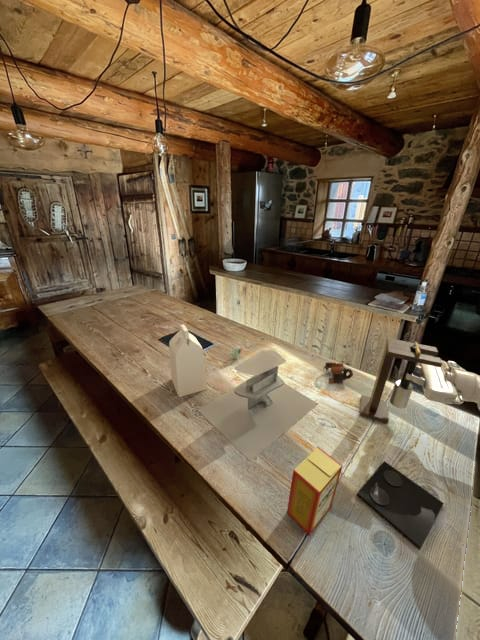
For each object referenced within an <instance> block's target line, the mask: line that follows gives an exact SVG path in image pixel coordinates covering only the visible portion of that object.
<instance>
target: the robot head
mask: <svg viewBox="0 0 480 640" xmlns="http://www.w3.org/2000/svg"><path fill="white" fill-rule="evenodd" d="M241 352H242V349H241V346H240V345H234V346H233V347H232V349H231V351H230V353H229V354H230V355H231V356H232V358H233V359H235V360H236V359H238V358H239V357H240V355H241V354H242V353H241Z"/></svg>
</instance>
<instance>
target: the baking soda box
mask: <svg viewBox="0 0 480 640" xmlns="http://www.w3.org/2000/svg"><path fill="white" fill-rule="evenodd" d="M342 469H343V464H341V462H339V461H338V460H336V459H335V458H334V457H332V456H331V455H330V454H329V453H327V452H326V451H325V450H323V449H322V448H320V447H319V446H317V447H315V449H313V450H312V451H311V453H309V455H307V457H305V459H304V460H302V462H300V463H299V464H298V465H297V466H296V467H295V468H294V469H293V471H292V476H291V483H290V490H289V497H288V503H287V509H286V513H287V514H288V515H289V516H290V517H291V518H292V520H293V521H294V522H296V524H297V525H298V526H299V527H300V528H301V529H302V530H303V531H304V532H305V533H306V534H307V535H308V536H310V535H311V534H312V532H314V530H315V529H316V528H317V526H318V525H319V523H320V522H321V521H322V519H323V518H324V517H325V516H326V515H327V513H328V512H329V511H330V509H331V508H332V506H333V501H334V498H335V494H336V492H337V488H338V483H339V480H340V477H341V472H342Z"/></svg>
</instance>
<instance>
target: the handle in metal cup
mask: <svg viewBox="0 0 480 640" xmlns="http://www.w3.org/2000/svg"><path fill="white" fill-rule="evenodd" d="M413 343H414V345H413V347H412V350H411V352H415V353H416V355H417V356H420V355H421V354H422V353H421V351H422V347H420V346H419V345H418V344H419V343H418V341H414V342H413ZM406 361H407V363H406V364H405V365H406V367H405V366H404V368H405V369H404V371H403V372H402V373H403V374H402V376H401V379H397V380H396V381H395V382H394V386H393V387H392V391H391V395H390V398H389V403H390V404H391V405H392V406H393V407H395V408H398V409H406V408H407V406H408V404H409V400H410V398H411V395H412V393H413V390H414V386H413V384H412V383H411V382H412V381H411V380H407V379H406V373H412V374H413V375H414V373H415V372H414V371H415V368H416V365H417V364H418V362H413V361H409V360H406Z"/></svg>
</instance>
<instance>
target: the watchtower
mask: <svg viewBox="0 0 480 640" xmlns="http://www.w3.org/2000/svg"><path fill="white" fill-rule="evenodd" d="M286 362H287V359H285V358H284V357H283V356H282V355H281V354H280V353H279V352H278V351H276V350H274V349H262V350H260V351H258V352H256V353H255V354H254V355H252V356H250V357H248V358H247V359H246V360H244V361H243V362H241V363H239V364H237V365H236V366H234V370H236V372H237V373H238V372H239V373H242V374H245V375H250V376H251V377H250V378H248V379H246V380H245V381H244V382H241V383H240V384H238V385H237V386H234V387H233V388H231V389H230V390H228V391H226V392H224V393H223V394H221V395H219V396H218V397H215V398H214V399H212V400H211V401H208V402H207V403H205V404H203V405H202V406H200V407H198V408H196V410H197V412H199V414H201V415H202V417H204V418H205V419H206V420H207V421H208V423H210V425H212V426H213V427H214V428H215V429H216V430H217V432H219V433H220V434H221V435H222V436H223V437H224V438H226V439H227V441H229V442H230V443H231V444H232V446H234V447H235V448H236V449H237V450H238V452H240V453H241V454H242V455H243V456H244V457H245V458H246V459H247V460H248V461H249V462H252V461H253V460H255V458H257V457H258V456H259V455H260V454H261V453H263V452H264V451H265V450H266V449H267V448H268V447H270V445H273V443H274V442H276V441H277V440H278V439H279V438H280V437H281V436H283V435H284V434H285V433H286V432H288V430H290V429H291V428H292V427H293V426H294V425H296V424H297V423H298V422H299V421H300V420H302V418H303V417H305V416H307V414H308V413H310V412H311V411H312V410H313V409H315V407H316V406H318V405H319V403H318V402H317V401H316V400H313V399H311V398H310V397H308V396H306V395H305V394H303V393H302V392H300V391H299V390H297V389H295V388H293V387H292V386H290V385H289V384H287V383H285V382H284V380H283V379H282V378H281V377H280V376H279V374H278V373H279V366H281V365H283V364H285V363H286Z"/></svg>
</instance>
